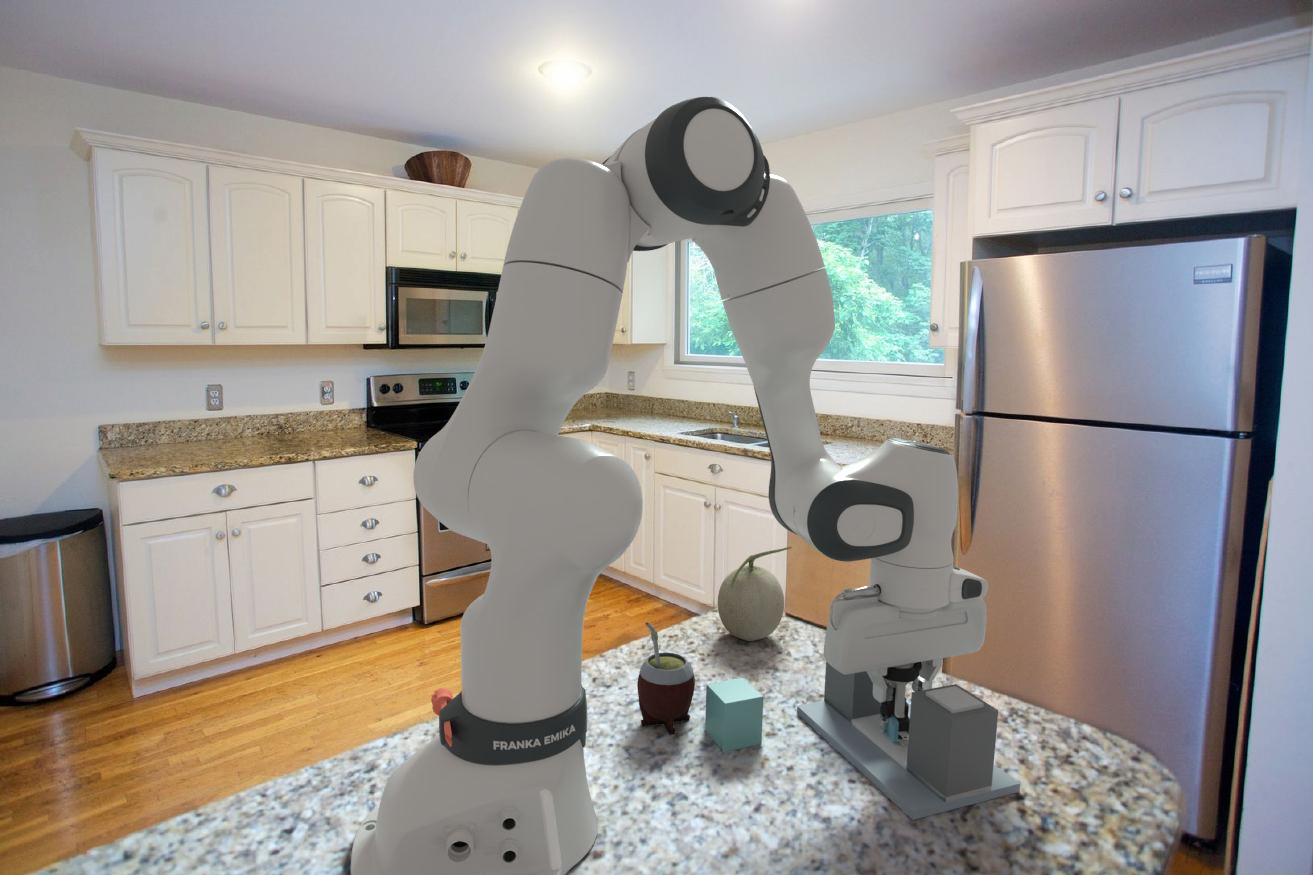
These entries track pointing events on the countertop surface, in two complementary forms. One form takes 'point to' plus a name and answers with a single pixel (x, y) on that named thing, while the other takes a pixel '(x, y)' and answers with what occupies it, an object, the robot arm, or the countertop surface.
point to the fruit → (751, 600)
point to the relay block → (734, 714)
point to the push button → (898, 702)
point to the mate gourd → (665, 688)
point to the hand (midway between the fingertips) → (902, 695)
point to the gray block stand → (915, 744)
